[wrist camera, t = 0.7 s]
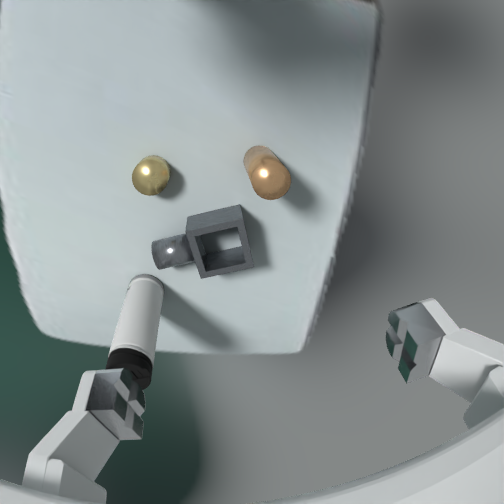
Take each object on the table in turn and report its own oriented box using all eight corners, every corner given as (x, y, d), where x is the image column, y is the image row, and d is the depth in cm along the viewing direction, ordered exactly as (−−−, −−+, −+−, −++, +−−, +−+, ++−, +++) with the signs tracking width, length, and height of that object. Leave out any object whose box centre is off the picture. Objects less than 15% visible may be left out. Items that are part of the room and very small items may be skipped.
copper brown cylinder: (240, 149, 42) (248, 167, 33) (271, 142, 42) (288, 159, 33) (246, 178, 44) (256, 203, 36) (276, 171, 44) (293, 195, 36)
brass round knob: (132, 160, 41) (127, 166, 38) (165, 151, 41) (162, 155, 38) (142, 192, 43) (138, 199, 41) (174, 183, 43) (172, 190, 41)
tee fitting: (150, 226, 46) (144, 241, 42) (239, 204, 46) (243, 218, 42) (166, 268, 50) (163, 286, 46) (249, 249, 50) (253, 267, 46)
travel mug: (121, 279, 50) (92, 370, 33) (155, 269, 50) (135, 363, 33) (137, 306, 53) (117, 397, 36) (169, 297, 53) (159, 392, 36)
